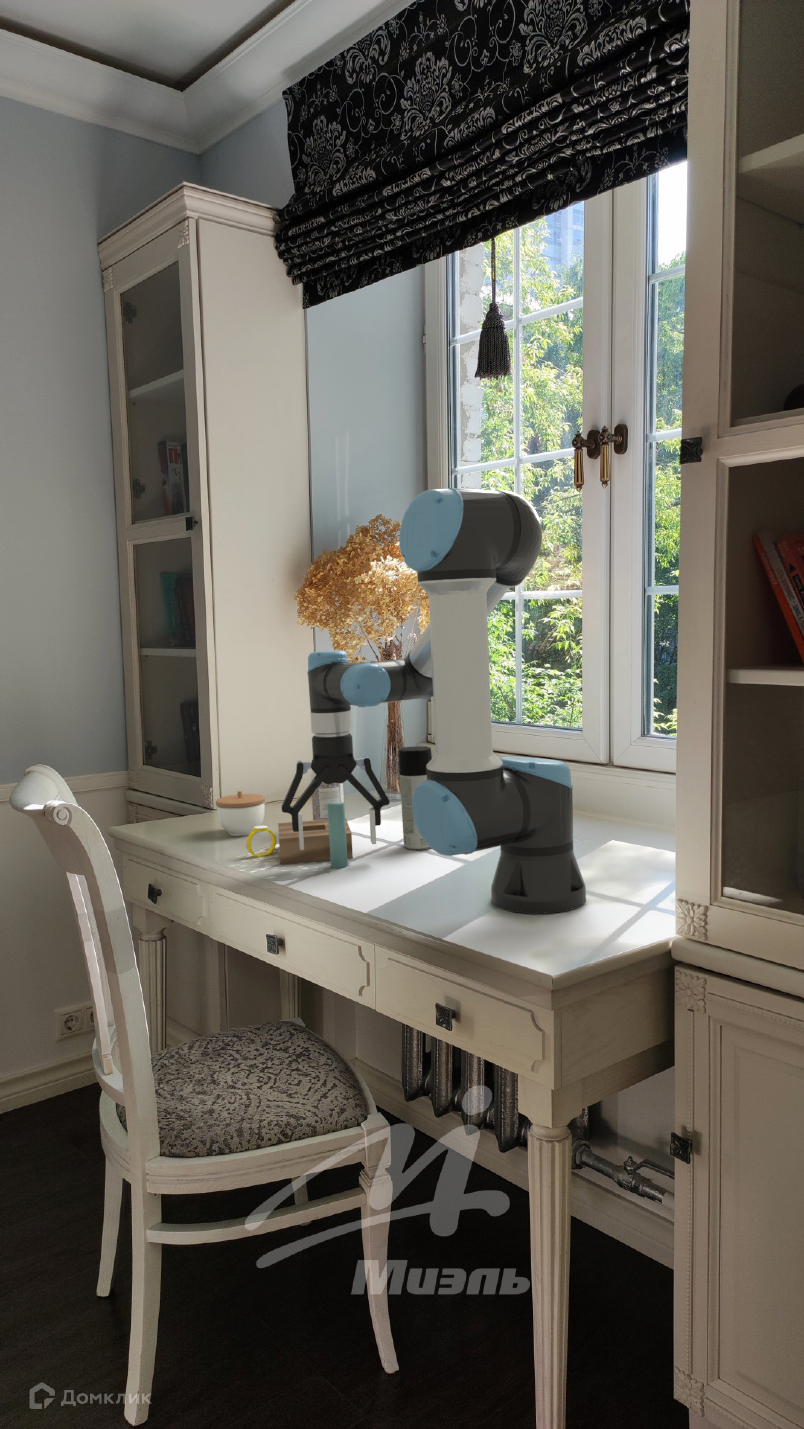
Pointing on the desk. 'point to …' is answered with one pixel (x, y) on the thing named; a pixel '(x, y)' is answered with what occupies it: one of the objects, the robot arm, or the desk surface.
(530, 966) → the desk surface
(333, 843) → the peg
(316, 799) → the bath foam
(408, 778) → the spray can
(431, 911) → the desk surface
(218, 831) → the desk surface
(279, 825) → the socket
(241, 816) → the lidded jar
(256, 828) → the watch
